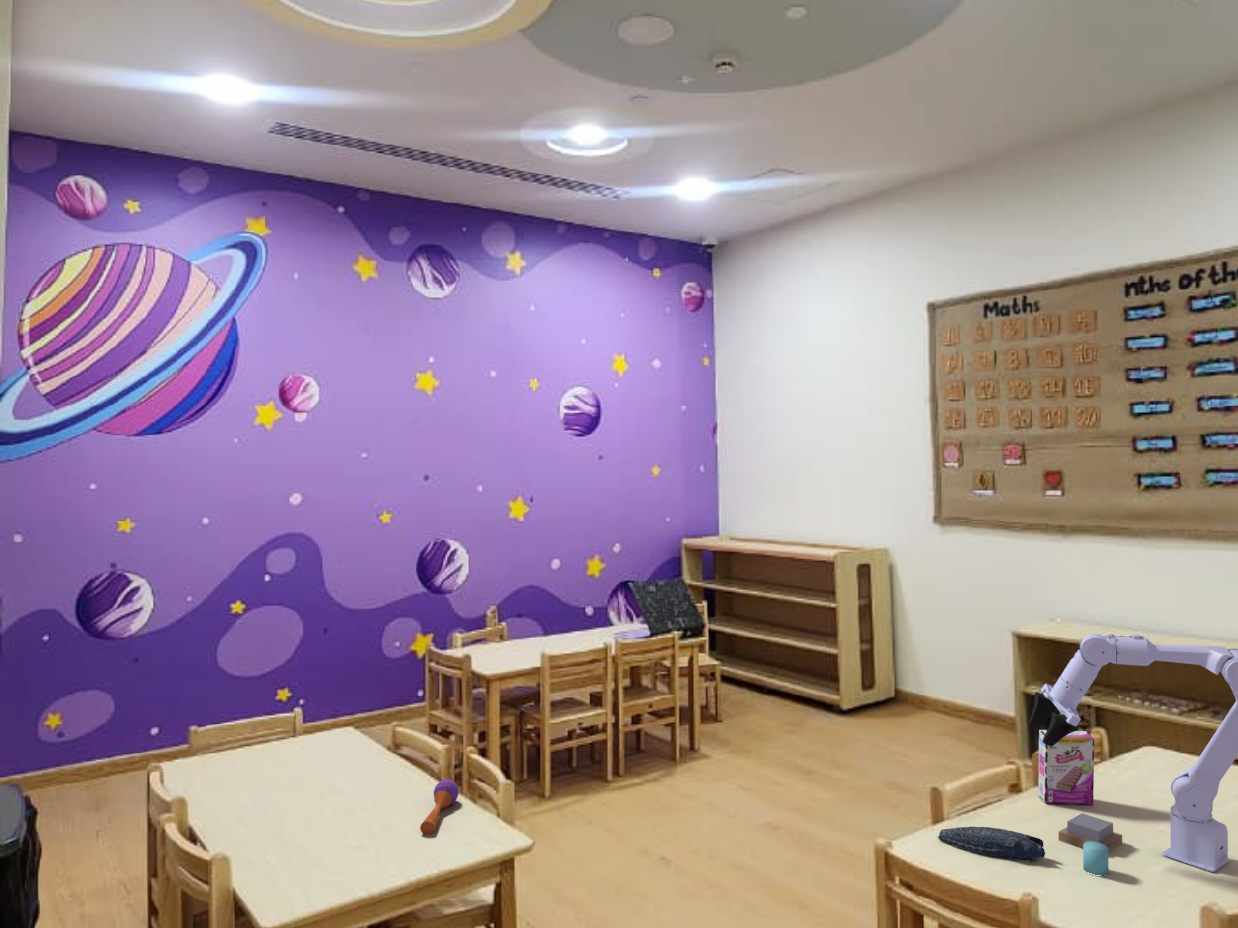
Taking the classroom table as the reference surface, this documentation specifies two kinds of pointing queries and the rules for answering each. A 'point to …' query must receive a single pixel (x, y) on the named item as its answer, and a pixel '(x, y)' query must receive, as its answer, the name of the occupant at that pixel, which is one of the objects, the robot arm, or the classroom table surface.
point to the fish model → (994, 842)
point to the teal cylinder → (1095, 858)
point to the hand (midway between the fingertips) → (1040, 734)
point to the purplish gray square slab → (1090, 828)
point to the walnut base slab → (1078, 841)
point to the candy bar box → (1067, 769)
